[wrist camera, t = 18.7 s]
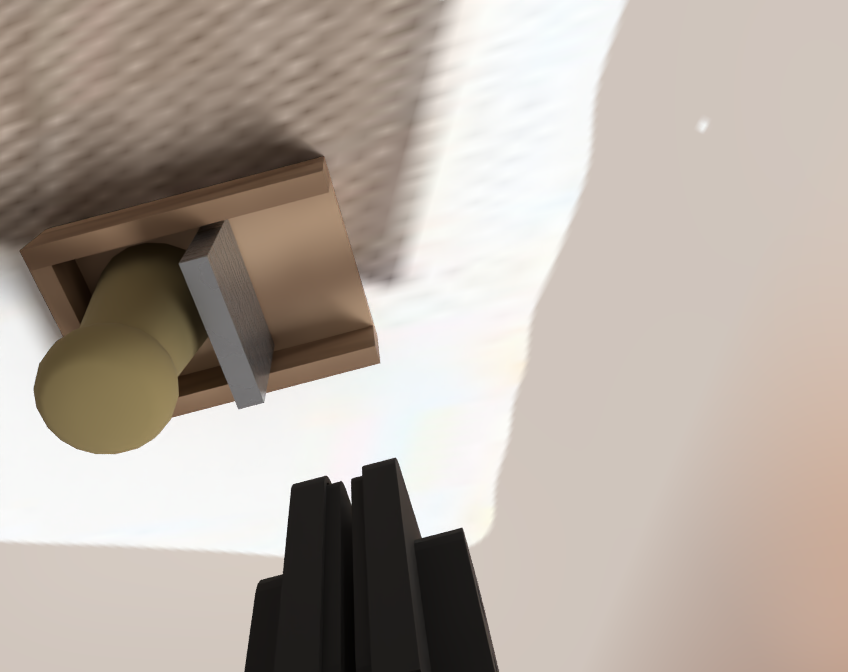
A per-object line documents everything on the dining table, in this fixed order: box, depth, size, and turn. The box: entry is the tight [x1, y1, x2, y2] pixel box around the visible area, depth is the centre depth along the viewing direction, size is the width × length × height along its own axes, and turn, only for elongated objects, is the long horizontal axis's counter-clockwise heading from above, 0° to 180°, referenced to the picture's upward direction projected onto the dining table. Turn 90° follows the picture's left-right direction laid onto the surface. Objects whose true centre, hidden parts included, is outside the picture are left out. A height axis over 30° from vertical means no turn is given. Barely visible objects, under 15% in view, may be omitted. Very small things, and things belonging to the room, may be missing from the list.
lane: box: [20, 156, 380, 418], centre depth 36 cm, size 10×14×3 cm
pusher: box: [179, 219, 275, 409], centre depth 34 cm, size 7×1×6 cm, turn 13°
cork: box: [34, 243, 209, 454], centre depth 32 cm, size 6×6×11 cm
